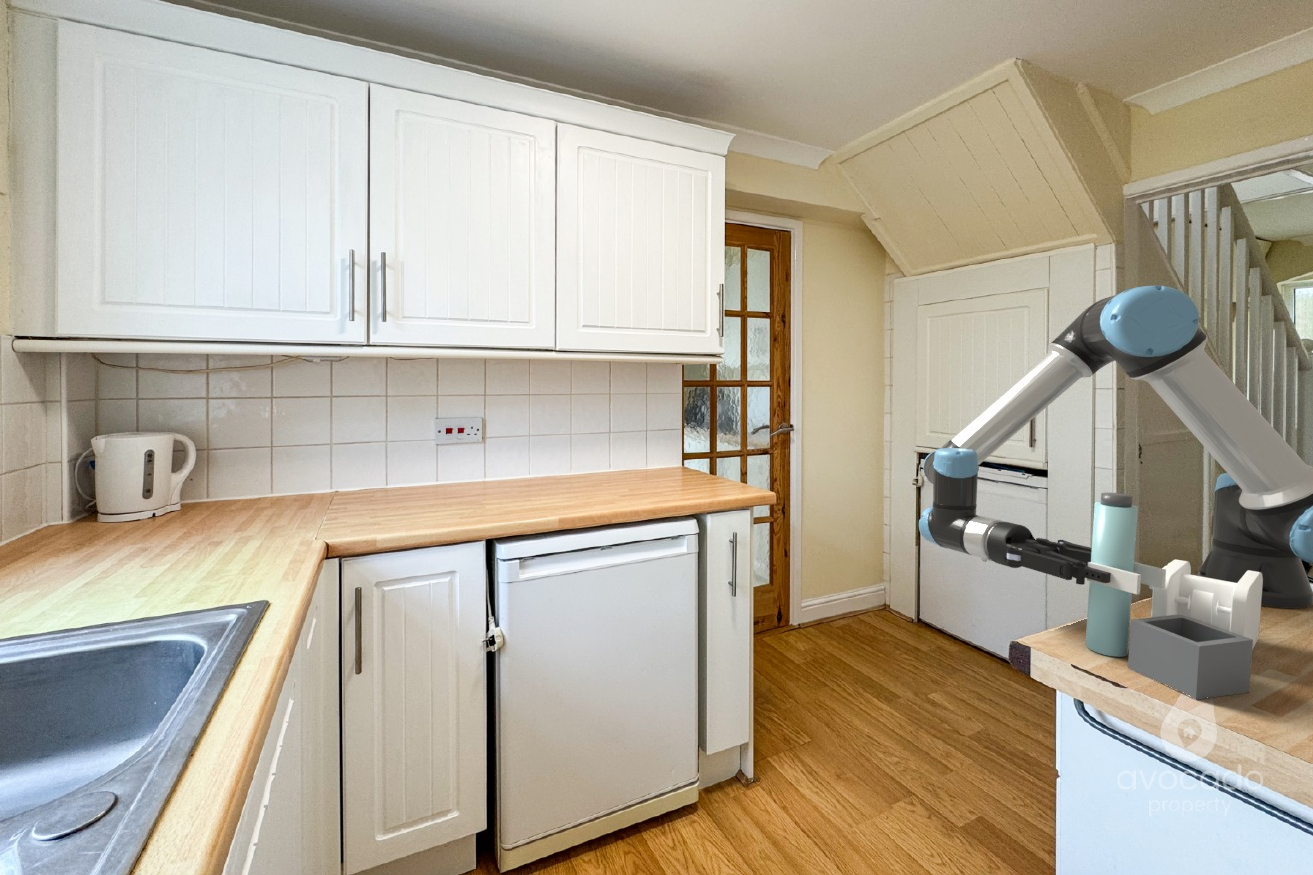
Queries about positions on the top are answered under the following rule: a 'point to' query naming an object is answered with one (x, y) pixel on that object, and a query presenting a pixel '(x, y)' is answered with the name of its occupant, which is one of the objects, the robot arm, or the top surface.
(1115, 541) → the teal bottle
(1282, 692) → the top surface
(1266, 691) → the top surface
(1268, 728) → the top surface
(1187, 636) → the block
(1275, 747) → the top surface
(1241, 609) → the white piece
